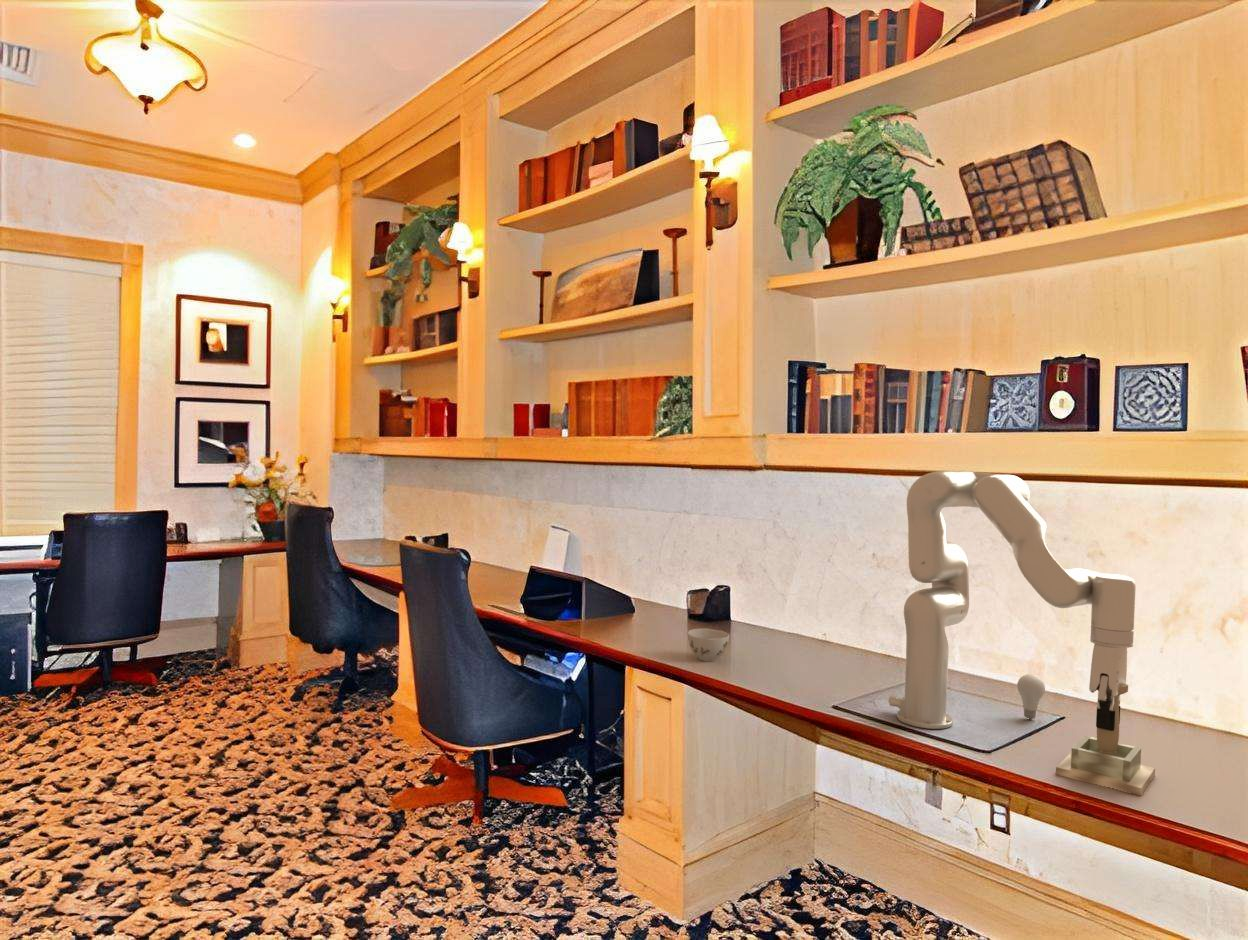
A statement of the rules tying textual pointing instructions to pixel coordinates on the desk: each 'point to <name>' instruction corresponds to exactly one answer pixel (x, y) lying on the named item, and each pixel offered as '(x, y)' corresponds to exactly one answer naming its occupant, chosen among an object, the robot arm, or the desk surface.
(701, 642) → the teacup
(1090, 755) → the socket block
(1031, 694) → the lightbulb
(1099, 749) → the handle
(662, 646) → the desk surface
